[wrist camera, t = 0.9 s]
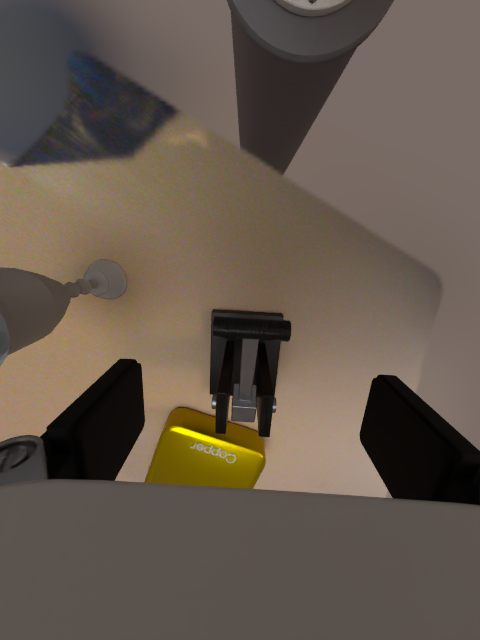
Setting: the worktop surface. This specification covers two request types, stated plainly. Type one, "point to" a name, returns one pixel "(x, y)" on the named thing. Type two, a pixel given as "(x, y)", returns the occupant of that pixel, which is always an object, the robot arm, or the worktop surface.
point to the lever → (249, 356)
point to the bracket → (228, 372)
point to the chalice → (47, 301)
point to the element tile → (206, 453)
